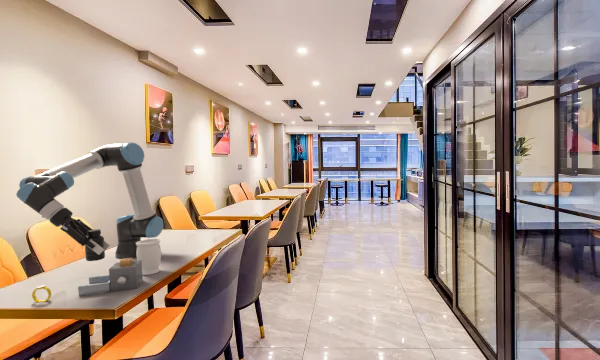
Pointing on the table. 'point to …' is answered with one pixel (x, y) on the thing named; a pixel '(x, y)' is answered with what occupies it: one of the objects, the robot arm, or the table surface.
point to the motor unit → (115, 278)
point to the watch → (41, 288)
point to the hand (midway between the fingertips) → (104, 249)
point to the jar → (149, 255)
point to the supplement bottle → (97, 239)
